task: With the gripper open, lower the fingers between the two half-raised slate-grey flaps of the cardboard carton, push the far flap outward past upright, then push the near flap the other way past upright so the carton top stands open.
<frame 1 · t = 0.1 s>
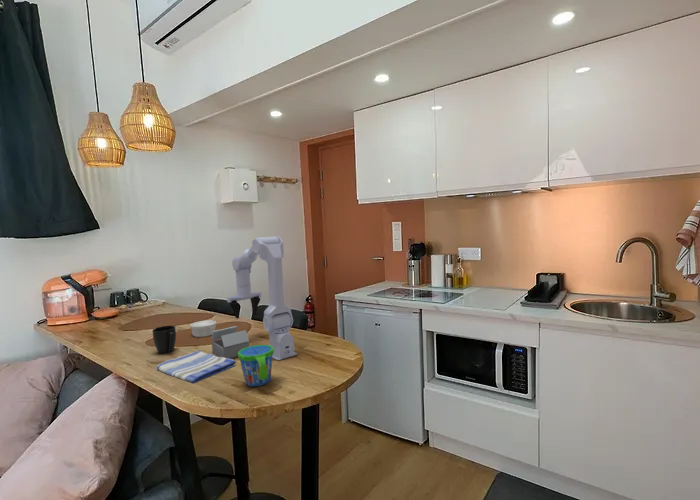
hand: (245, 316, 157), 10 cm above the table, tool pointing down, fingers open, 7 cm apart
mug: (167, 353, 146), on the table
far flap: (224, 333, 145), point 7 cm above the table, hinge at 60.0°
dish towel: (196, 369, 128), on the table
ramekin: (204, 334, 170), on the table
carton: (231, 353, 141), on the table
near flap: (235, 338, 137), point 7 cm above the table, hinge at 60.0°
snack cup: (258, 382, 113), on the table
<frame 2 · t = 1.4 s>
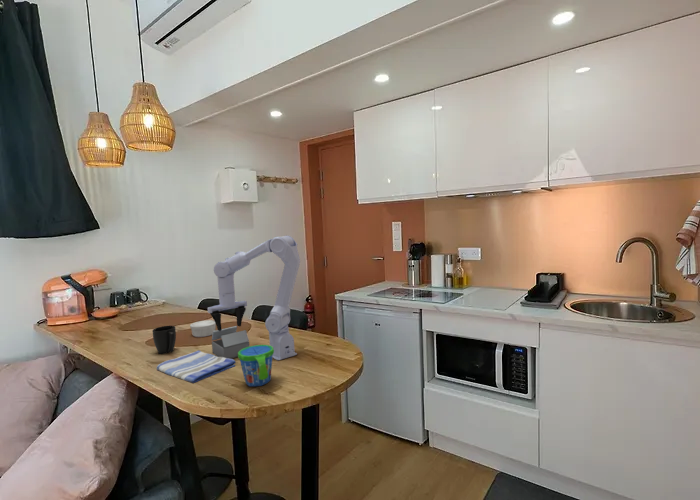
hand: (229, 328, 140), 10 cm above the table, tool pointing down, fingers open, 7 cm apart
nothing on the table moved.
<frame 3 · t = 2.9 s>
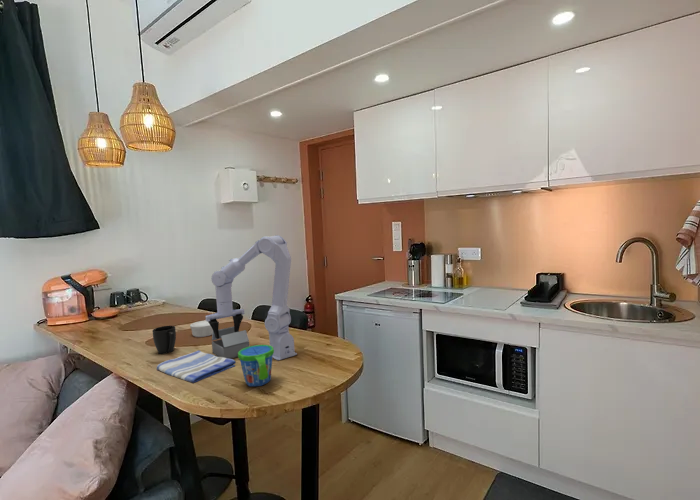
hand: (227, 335, 143), 6 cm above the table, tool pointing down
far flap: (224, 333, 145), point 7 cm above the table, hinge at 60.5°, touching gripper
everything else where it was.
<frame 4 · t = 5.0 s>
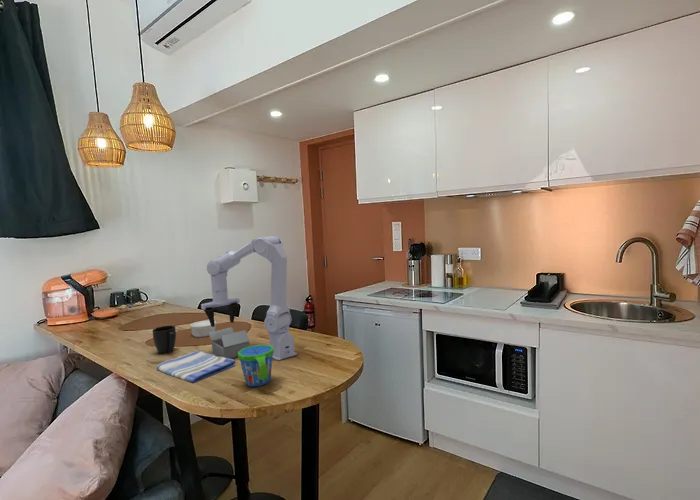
hand: (222, 324, 146), 10 cm above the table, tool pointing down, fingers open, 7 cm apart
far flap: (222, 334, 147), point 6 cm above the table, hinge at 145.6°
everything else where it was.
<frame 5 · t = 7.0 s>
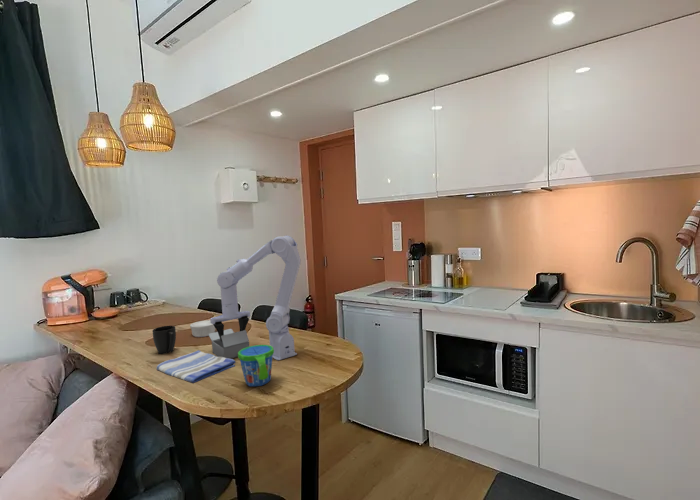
hand: (232, 338, 139), 6 cm above the table, tool pointing down
far flap: (222, 334, 147), point 6 cm above the table, hinge at 154.6°
near flap: (235, 338, 137), point 7 cm above the table, hinge at 60.4°, touching gripper
everything else where it was.
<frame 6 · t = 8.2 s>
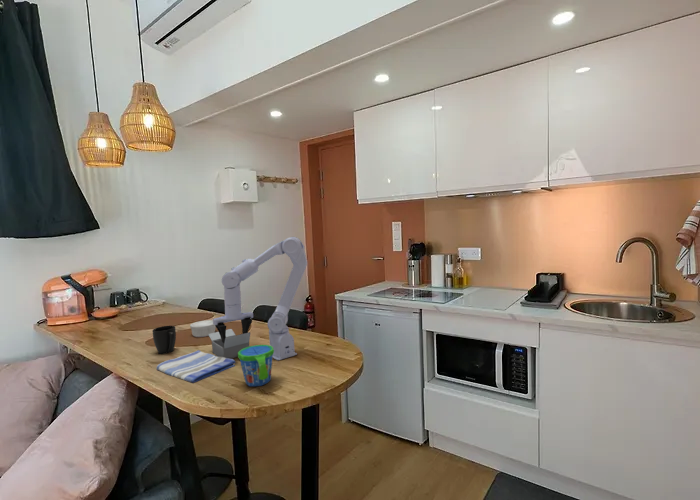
hand: (234, 340, 136), 6 cm above the table, tool pointing down
far flap: (222, 335, 147), point 5 cm above the table, hinge at 155.9°
near flap: (237, 340, 135), point 7 cm above the table, hinge at 116.3°, touching gripper
everything else where it was.
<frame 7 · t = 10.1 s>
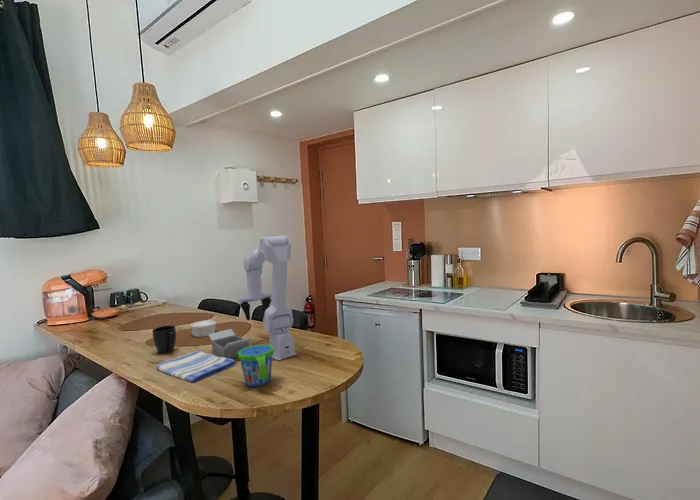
hand: (256, 317, 154), 10 cm above the table, tool pointing down, fingers open, 7 cm apart
far flap: (222, 335, 147), point 5 cm above the table, hinge at 156.5°
near flap: (238, 342, 134), point 6 cm above the table, hinge at 146.9°
everything else where it was.
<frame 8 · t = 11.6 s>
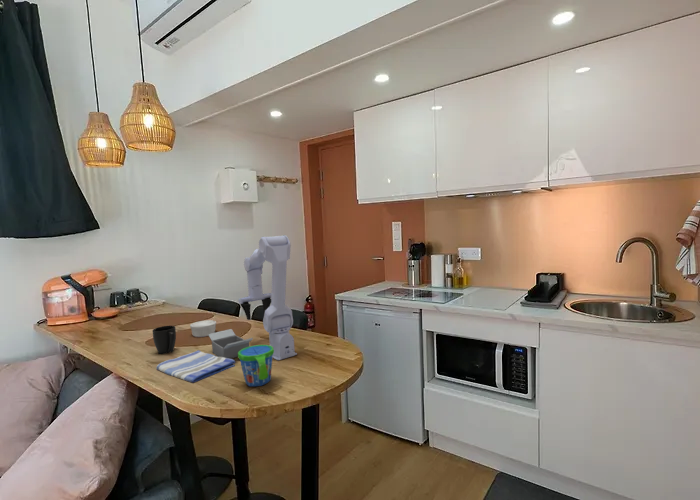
hand: (257, 317, 154), 10 cm above the table, tool pointing down, fingers open, 7 cm apart
near flap: (238, 343, 134), point 6 cm above the table, hinge at 150.6°
everything else where it was.
at the end: far flap at +157° (first picture: +60°); near flap at +151° (first picture: +60°) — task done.
